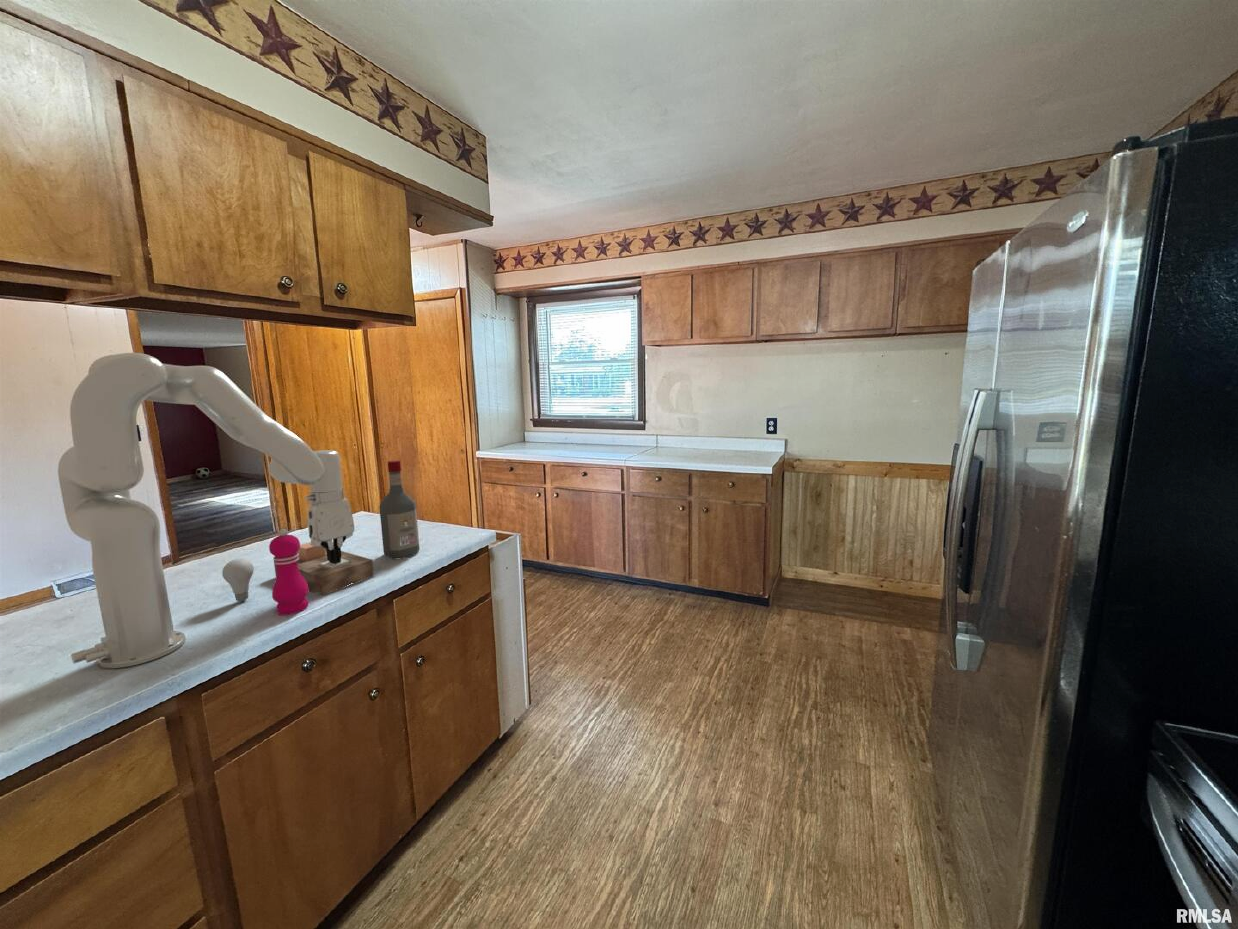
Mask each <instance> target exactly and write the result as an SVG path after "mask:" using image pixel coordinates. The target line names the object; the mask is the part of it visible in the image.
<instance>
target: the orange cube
mask: <svg viewBox="0 0 1238 929" xmlns="http://www.w3.org/2000/svg"><path fill="white" fill-rule="evenodd" d="M297 553H298V554H299V560H303V561H310V560H313V559H316V558H320V557H323V556H325V549H324V547H322V546H312V545H311V541H310V542H305V543H302V544H301V543H300V548H299V550H298V551H297Z"/></svg>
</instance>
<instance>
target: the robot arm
mask: <svg viewBox="0 0 1238 929" xmlns="http://www.w3.org/2000/svg"><path fill="white" fill-rule="evenodd" d="M144 401H145V402H146V401H149V402H157V403H166V404H176V405H177V404H178V405H179V404H180V405H190V406H191V405H194V406H195V407H196V408H198V409H199V410H200V411H201V412H202V413H203V414H204V415H206V417H208V418H209V419H210V420H211V421H212V422H213V423H214V424H215V425H216V426H217V427H219V428H220V429H222V431H223V432H225V433H226V434H227V435H228V437H230V438H232V440H235V441H237V443H238V442H239V443H240V444H242V445H244V446H247V447H249V448H252V449H255V450H256V451H259V452H261V453H264V454H265V455H266V456H269V457H270V458H271V460H270V462H269V463H268V468H267V469H268V473H269V475H270V476H271V477H272V478H273V479H274V480H276V481H278V482H281V483H285V484H294V485H300V486H301V485H302V486H309V495H306V496H305V500H306V502H310V503H309V505H308V511H307V512H308V513H307V528H308V529H307V530H308V537H309V539H310V542H311V545H312V546H322V547H324V548H325V549H326V552H327V559H328V561H329V562H331V563H334V564H335V563H337V562H341V557H342V556H341V551H342V547H343V544H344V542H346V539H347V540H348V539H349V538H351V537H352V536H353V535H354V532H355V523H354V522H355V521H354V517H353V513H352V509H351V505H350V502H349V500H348V498H346V497H345V496H344V494H345V493H344V485H343V476H342V468H341V467H342V466H341V456H340V454H339V452H338V451H336V450H333V449H332V450H331V449H325V450H324V449H322V450H321V449H320V450H313V449H312V448H311V447H310V446H309V445H308V444H307V443H306V442H305V441H304V440H302V439H301V438H300V437H299V436H297V435H296V434H295V433H294V432H292V431H290V430H289V429H287V428H286V427H284V426H283V425H282V424H280V423H279V422H278V421H276V420H275V419H273V418H271V417H270V416H269V415H267V414H266V413H265V412H264V411H263V410H262V409H261V408H259V406H258V405H257V404H255V402H254V401H253V400H252V399H251V398H250V397H249V396H248V395H247V394H245V393H244V391H243V390H242V389H240V388H239V386H237V384H236V383H235V382H233V381H232V379H230V378H229V376H227V375H226V374H225V373H224V372H223V371H221V369H218V368H216V367H213V366H209V365H190V366H189V365H188V366H187V365H186V366H184V365H177V364H176V365H174V364H169V363H168V364H167V363H162V362H161V361H160V359H158V358H156V357H154V356H151V355H149V354H145V353H142V352H141V353H140V352H123V353H118V354H117V353H116V354H109V355H104V356H101V357H99V358H97V359H95V360H94V361H92V363H91V365H90V367H89V368H88V374H87V375H86V376H85V377H84V378H83V379H82V381H80V383H79V384H78V385H77V387H76V389H75V391H74V392H73V395H72V398H71V401H70V407H69V409H70V410H69V419H70V426H71V427H70V428H71V436H72V443H73V446H72V447H70V448H68V449H67V450H66V451H65V452H64V453H63V454H62V455H61V457H60V459H59V462H58V465H57V466H58V467H57V476H58V481H59V487H60V493H61V498H62V503H63V508H64V514H65V518H66V521H67V524H68V526H69V529H70V530H71V531H72V532H73V534H74V535H75V536H76V537H78V538H80V539H83V540H84V541H87V542H90V547H91V563H92V564H91V565H92V566H91V568H92V575H93V580H94V585H95V590H96V593H97V599H98V604H99V610H100V612H101V613H100V614H101V620H102V625H103V629H104V634H105V636H104V637H100V642H99V643H96V644H94V647H91V648H90V647H89V648H88V649H87V648H86V649H83V650H79V651H76V652H72V653H71V655H70V657H71V661H72V662H73V664H77V663H80V662H83V661H85V662H86V664H88V663H90V662H94V661H97V662H98V665H99V666H100V667H101V668H105V669H120V668H126V667H127V668H128V667H133V666H137V665H141V664H144V663H147V662H150V661H154V660H156V659H159V658H162V657H165V656H167V655H168V654H170V653H172V652H174V651H175V650H178V649H179V648H180V647H181V646H183V644H184V643H185V642H186V634H185V633H184V632H182V631H177V630H174V624H173V618H172V613H171V606H170V601H169V595H168V590H167V584H166V578H165V572H164V568H163V562H162V554H161V524H160V519H159V517H158V515H157V513H156V512H155V511H154V510H153V508H151V507H150V506H148V505H147V504H145V503H143V502H141V501H138V500H135V499H131V493H130V490H132V489H133V488H135V487H136V486H138V484H140V482H141V481H142V479H143V477H144V473H145V472H144V471H145V470H144V469H145V468H144V463H143V458H142V453H141V447H140V446H141V445H140V440H139V437H138V436H139V435H138V426H137V424H138V423H137V415H138V410H139V409H140V406H141V405H142V403H143V402H144Z"/></svg>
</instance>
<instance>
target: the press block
mask: <svg viewBox="0 0 1238 929" xmlns="http://www.w3.org/2000/svg"><path fill="white" fill-rule="evenodd" d="M324 549H325V548H324ZM341 556H342V557H341V559H344V560H348V561H349V563H348V564H345V565H342V566H339V567H336V568H333V569H327V568H324V567H321V565H320V563H324V562H327V561H328V559H327V552H326V549H325V556H323V557H320V558H316V559H313V560H310V561H303V560H298V568H299V571H300V573H301V575H302V576H303V578H304V579H305V580H306V582H307V584H308V588H309V591H311V592H313V591H314V592H313V593H317V594H319V595H321V596H324V595H327V594H329V592H330V593H332V592H331V591H333V592H335V591H337V590H336V589H338V590H340V589H341V590H342V589H344V588H346V587H348V586H347V585H349V584H351V583H355V584H357V583H359V582H358V581H360V582H362V581H361V580H363V581H365V580H364V579H366V578H369V577H371V578H374V577H375V574H374V565H373V559H371V558H368V557H364V556H360V555H358V554H354V553H351V552H346V551H343V550H341ZM273 564H274V563H273ZM274 574H275V579H276V578H277V566H276V564H274ZM369 579H370V578H369ZM366 580H367V579H366ZM356 582H357V583H356ZM345 586H346V587H345ZM349 586H350V585H349ZM343 587H344V588H343ZM334 590H335V591H334Z"/></svg>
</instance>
